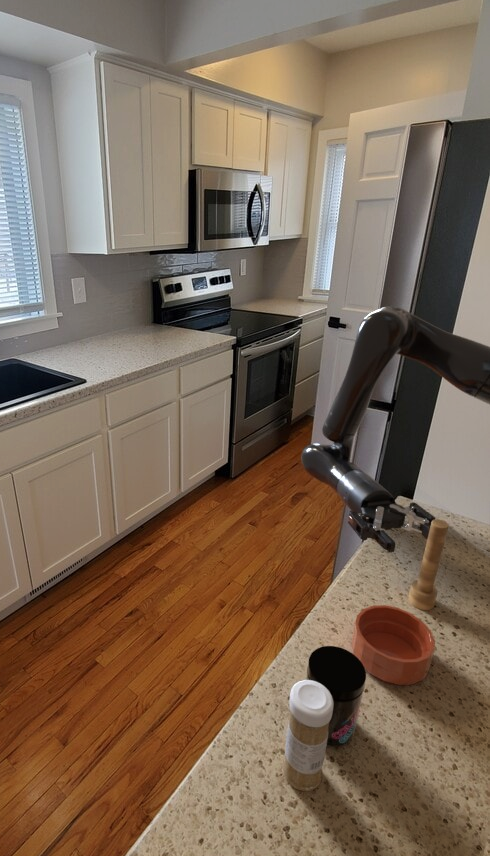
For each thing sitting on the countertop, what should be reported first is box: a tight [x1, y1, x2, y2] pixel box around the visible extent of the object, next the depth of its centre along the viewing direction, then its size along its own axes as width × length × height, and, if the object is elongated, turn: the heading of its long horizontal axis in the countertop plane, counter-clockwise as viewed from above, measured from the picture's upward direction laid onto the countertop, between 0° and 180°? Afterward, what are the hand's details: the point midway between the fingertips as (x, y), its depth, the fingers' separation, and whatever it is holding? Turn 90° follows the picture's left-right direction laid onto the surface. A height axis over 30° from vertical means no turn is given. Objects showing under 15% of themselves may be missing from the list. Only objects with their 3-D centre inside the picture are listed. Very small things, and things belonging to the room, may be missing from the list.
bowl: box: [350, 604, 436, 686], centre depth 72 cm, size 11×11×5 cm
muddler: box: [407, 518, 450, 611], centre depth 80 cm, size 4×4×16 cm
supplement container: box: [306, 645, 367, 748], centre depth 61 cm, size 7×7×10 cm
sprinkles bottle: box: [282, 679, 333, 792], centre depth 55 cm, size 5×5×14 cm
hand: (416, 544), depth 83 cm, fingers open, 8 cm apart
